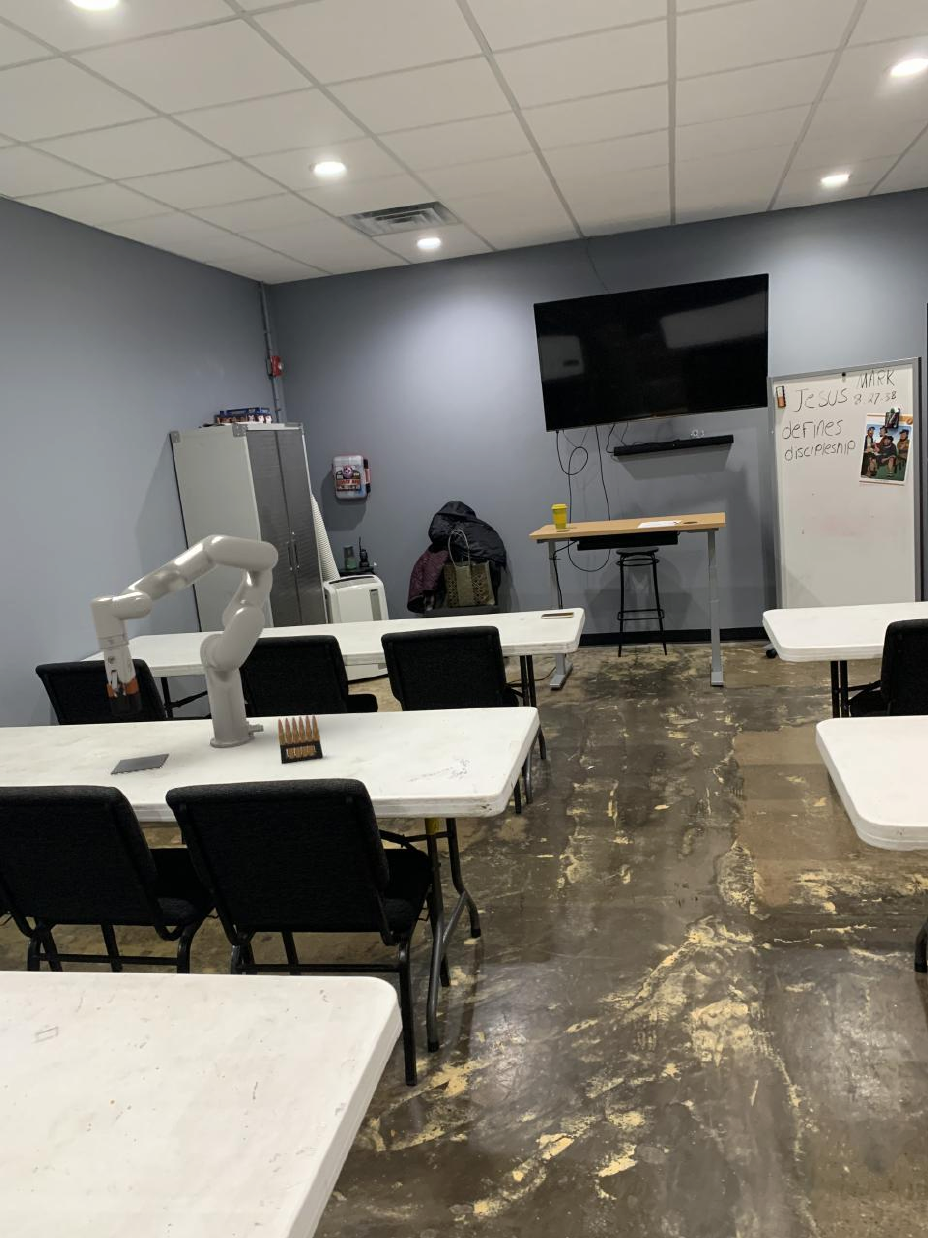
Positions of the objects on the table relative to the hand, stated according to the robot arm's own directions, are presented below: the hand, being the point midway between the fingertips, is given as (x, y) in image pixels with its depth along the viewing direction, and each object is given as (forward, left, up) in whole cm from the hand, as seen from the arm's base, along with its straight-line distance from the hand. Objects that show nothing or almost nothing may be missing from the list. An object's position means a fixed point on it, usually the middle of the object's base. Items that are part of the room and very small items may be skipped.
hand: (127, 706), depth 234 cm
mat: (-1, 0, -17) cm, 17 cm away
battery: (0, 0, -2) cm, 2 cm away
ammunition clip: (-46, +16, -17) cm, 51 cm away
